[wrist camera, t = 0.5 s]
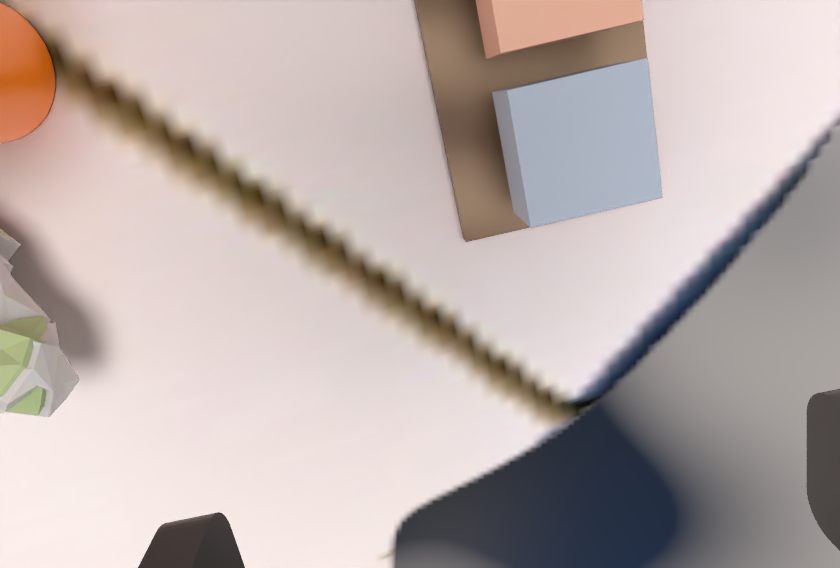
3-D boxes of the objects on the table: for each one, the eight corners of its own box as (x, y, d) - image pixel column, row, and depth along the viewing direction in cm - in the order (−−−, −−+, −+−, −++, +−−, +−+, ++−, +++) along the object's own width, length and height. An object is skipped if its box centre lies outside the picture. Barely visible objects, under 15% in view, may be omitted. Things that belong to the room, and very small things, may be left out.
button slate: (492, 91, 30) (507, 90, 26) (614, 63, 29) (647, 57, 26) (513, 212, 31) (530, 228, 28) (629, 186, 31) (662, 197, 27)
